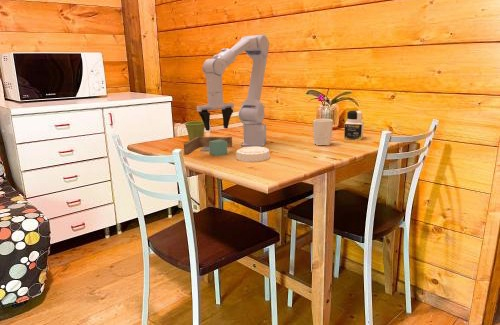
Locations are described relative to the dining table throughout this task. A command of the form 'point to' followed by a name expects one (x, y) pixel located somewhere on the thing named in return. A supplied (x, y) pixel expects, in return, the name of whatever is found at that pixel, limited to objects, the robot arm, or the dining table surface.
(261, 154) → the white flat cylinder
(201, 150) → the mat
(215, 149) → the cube
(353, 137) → the medicine bottle
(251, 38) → the robot arm
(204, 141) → the brown corner wall
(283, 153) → the dining table surface
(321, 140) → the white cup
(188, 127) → the plant pot
